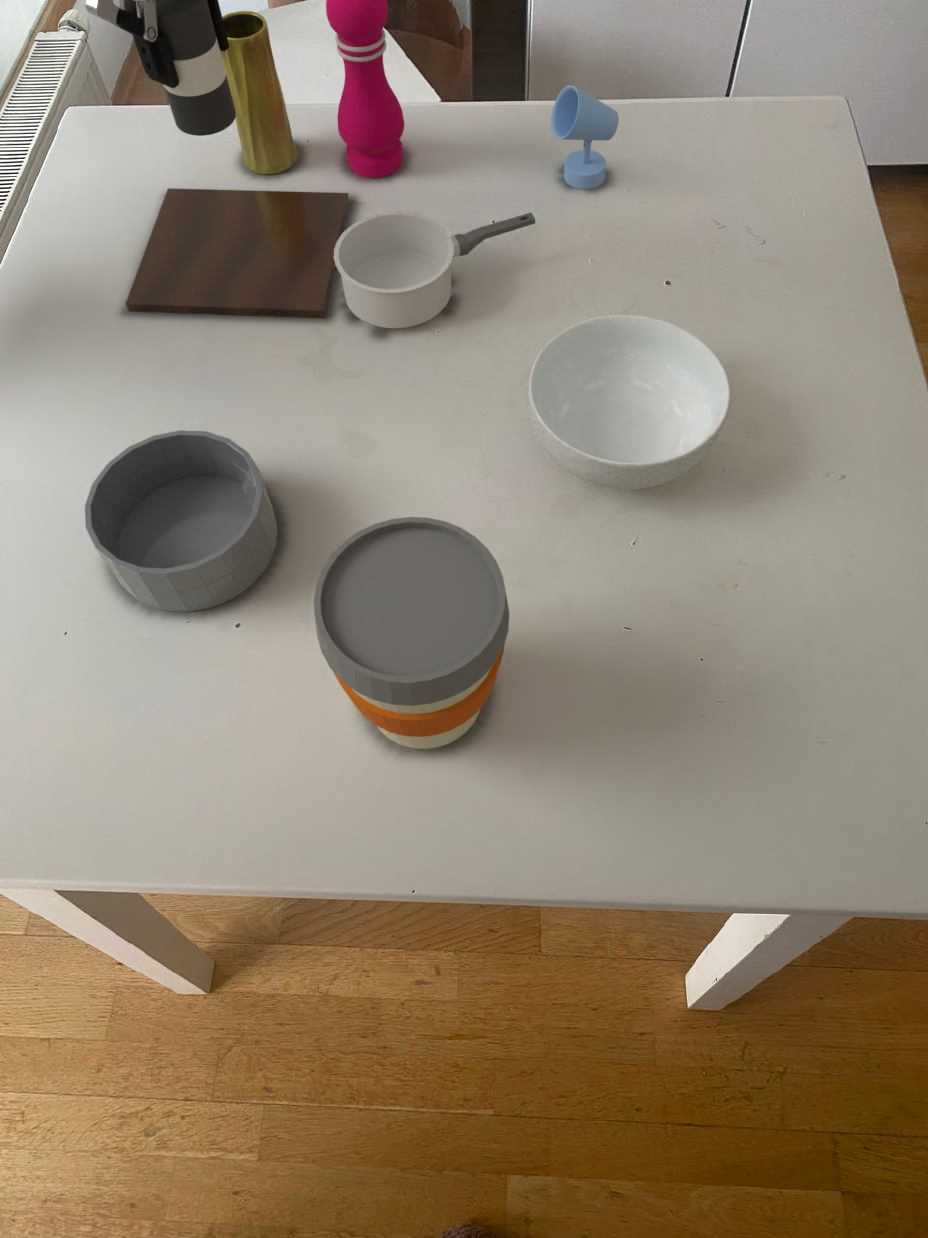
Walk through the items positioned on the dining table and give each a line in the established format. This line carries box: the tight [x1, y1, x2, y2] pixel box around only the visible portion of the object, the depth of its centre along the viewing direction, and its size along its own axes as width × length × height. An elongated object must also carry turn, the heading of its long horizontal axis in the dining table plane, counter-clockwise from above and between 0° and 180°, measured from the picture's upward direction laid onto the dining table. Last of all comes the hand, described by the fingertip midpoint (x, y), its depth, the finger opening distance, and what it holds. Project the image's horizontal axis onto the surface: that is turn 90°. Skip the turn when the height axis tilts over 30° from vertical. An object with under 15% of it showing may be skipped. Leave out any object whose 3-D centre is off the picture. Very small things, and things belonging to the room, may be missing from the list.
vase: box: [220, 10, 298, 175], centre depth 95 cm, size 6×6×14 cm
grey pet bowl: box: [84, 429, 278, 613], centre depth 74 cm, size 14×14×6 cm
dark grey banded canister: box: [136, 0, 236, 137], centre depth 77 cm, size 6×6×10 cm
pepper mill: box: [325, 0, 405, 179], centre depth 92 cm, size 7×7×20 cm
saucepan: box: [334, 211, 536, 329], centre depth 88 cm, size 12×20×6 cm, turn 109°
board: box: [125, 187, 350, 319], centre depth 93 cm, size 20×18×1 cm
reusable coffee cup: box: [313, 516, 510, 750], centre depth 62 cm, size 13×13×15 cm
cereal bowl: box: [527, 314, 731, 490], centre depth 77 cm, size 17×17×7 cm
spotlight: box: [550, 84, 620, 190], centre depth 94 cm, size 5×10×7 cm
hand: (189, 61), depth 77 cm, fingers closed on dark grey banded canister, 5 cm apart
